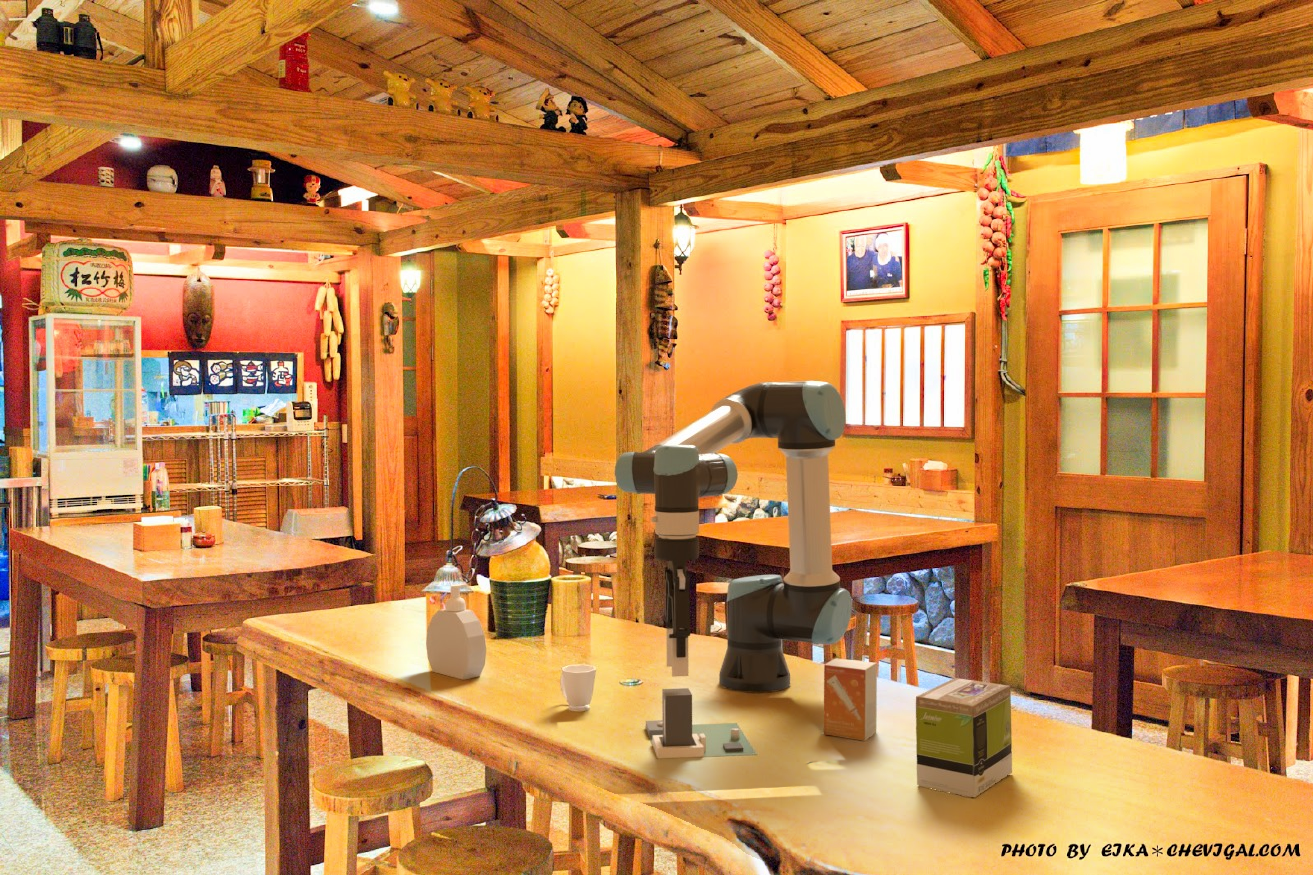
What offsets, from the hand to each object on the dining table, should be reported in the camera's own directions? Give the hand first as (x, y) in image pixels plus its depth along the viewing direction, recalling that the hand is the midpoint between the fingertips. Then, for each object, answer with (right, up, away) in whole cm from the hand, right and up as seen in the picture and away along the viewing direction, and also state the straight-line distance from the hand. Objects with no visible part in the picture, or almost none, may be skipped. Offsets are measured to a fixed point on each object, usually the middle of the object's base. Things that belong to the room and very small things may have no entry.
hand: (677, 670), depth 196 cm
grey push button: (-2, -15, +10) cm, 18 cm away
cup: (-20, -14, +33) cm, 41 cm away
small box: (+32, -15, +14) cm, 38 cm away
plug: (0, -14, 0) cm, 14 cm away
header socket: (0, -14, 0) cm, 14 cm away
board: (+4, -15, +7) cm, 17 cm away
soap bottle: (-48, -13, +61) cm, 79 cm away
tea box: (+46, -15, -12) cm, 50 cm away
